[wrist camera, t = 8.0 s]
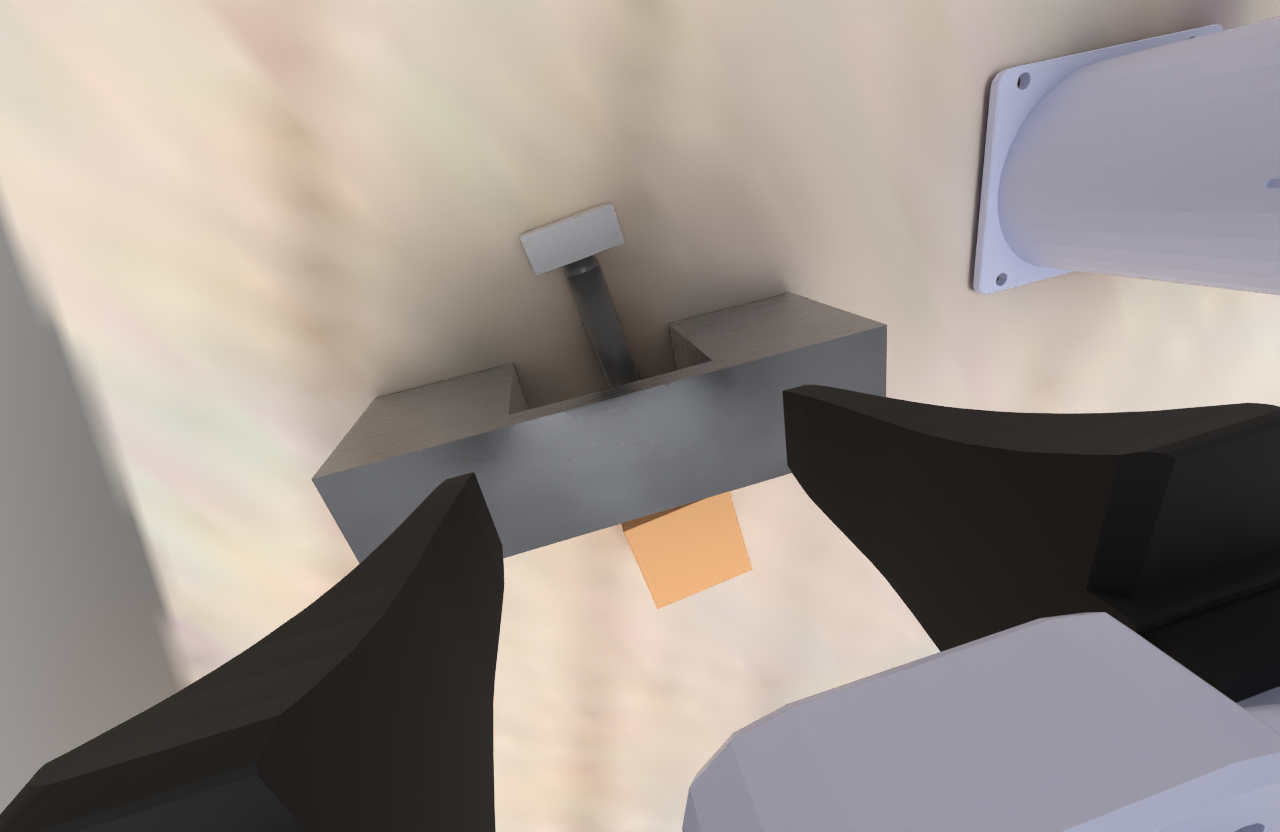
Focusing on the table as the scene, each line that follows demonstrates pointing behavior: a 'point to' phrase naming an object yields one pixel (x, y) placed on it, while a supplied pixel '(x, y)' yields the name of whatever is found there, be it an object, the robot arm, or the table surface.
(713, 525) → the plug
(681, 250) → the table surface
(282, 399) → the table surface
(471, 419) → the housing
